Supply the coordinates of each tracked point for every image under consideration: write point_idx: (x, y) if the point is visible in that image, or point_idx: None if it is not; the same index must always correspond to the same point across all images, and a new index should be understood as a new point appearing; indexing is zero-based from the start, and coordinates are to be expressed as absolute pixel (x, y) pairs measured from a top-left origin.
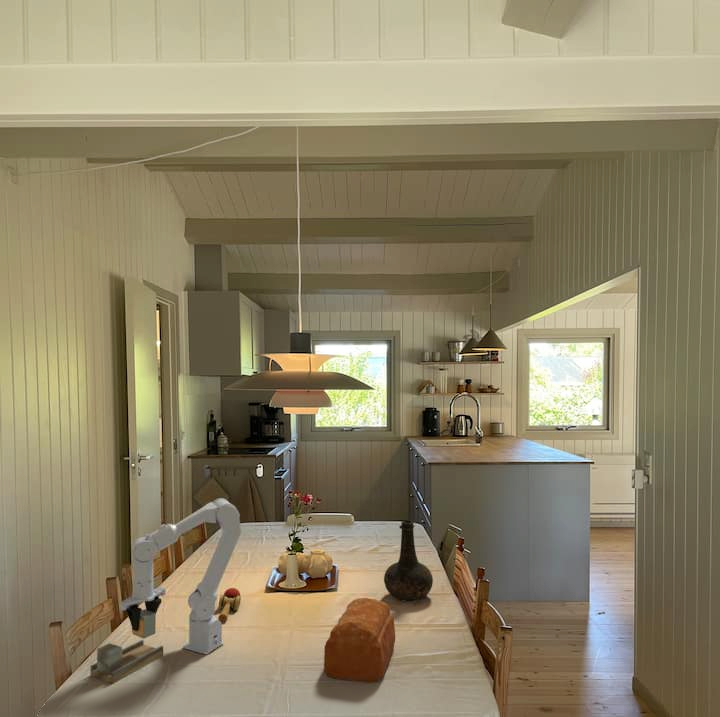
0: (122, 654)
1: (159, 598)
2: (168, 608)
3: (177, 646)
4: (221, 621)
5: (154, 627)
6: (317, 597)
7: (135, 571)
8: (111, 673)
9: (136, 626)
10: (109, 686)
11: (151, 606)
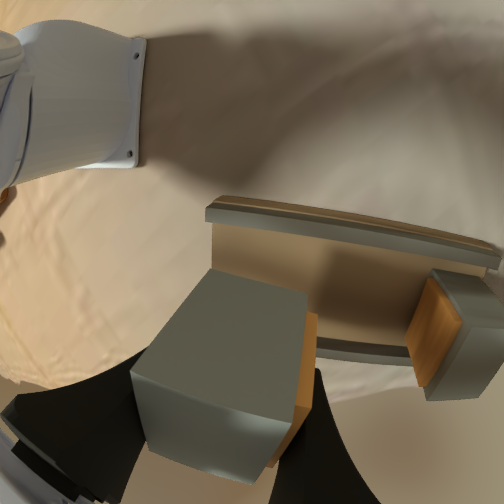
0: (324, 340)
1: (13, 432)
2: (51, 352)
3: (136, 197)
4: (6, 190)
5: (201, 293)
6: None
7: None
8: (496, 266)
9: (325, 396)
10: (497, 240)
11: (112, 444)
